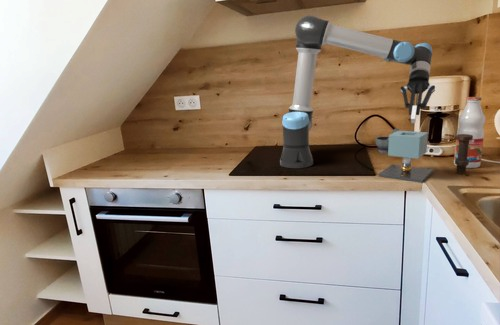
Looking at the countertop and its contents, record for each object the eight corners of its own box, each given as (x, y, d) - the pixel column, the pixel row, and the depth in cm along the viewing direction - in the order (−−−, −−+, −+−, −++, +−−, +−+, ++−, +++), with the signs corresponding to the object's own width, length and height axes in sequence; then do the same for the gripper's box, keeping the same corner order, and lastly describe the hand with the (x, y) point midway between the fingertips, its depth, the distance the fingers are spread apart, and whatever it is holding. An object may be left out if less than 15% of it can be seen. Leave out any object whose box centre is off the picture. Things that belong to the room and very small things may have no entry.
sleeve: (388, 155, 134) (388, 135, 132) (397, 149, 143) (398, 130, 140) (418, 158, 128) (419, 137, 125) (426, 152, 136) (427, 132, 134)
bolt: (454, 170, 138) (458, 133, 134) (469, 172, 135) (473, 134, 131) (451, 174, 134) (455, 136, 130) (466, 176, 131) (471, 137, 127)
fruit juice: (480, 163, 145) (488, 96, 138) (480, 169, 138) (488, 98, 131) (454, 161, 150) (460, 96, 143) (452, 167, 143) (459, 98, 136)
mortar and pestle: (373, 153, 172) (374, 129, 169) (376, 149, 180) (377, 126, 177) (397, 154, 167) (399, 130, 164) (399, 150, 175) (401, 127, 172)
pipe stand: (378, 176, 136) (379, 151, 134) (392, 166, 148) (393, 143, 145) (422, 182, 126) (424, 156, 124) (433, 171, 138) (435, 147, 135)
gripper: (436, 80, 144) (431, 126, 134) (402, 81, 150) (395, 126, 141) (437, 67, 138) (431, 115, 128) (401, 69, 145) (394, 115, 135)
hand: (413, 120), depth 134 cm, fingers closed
